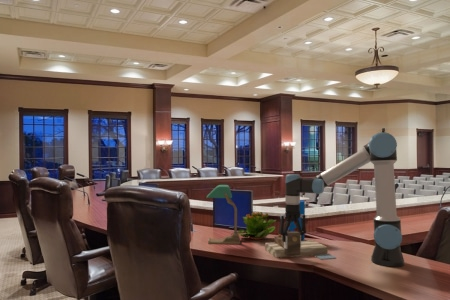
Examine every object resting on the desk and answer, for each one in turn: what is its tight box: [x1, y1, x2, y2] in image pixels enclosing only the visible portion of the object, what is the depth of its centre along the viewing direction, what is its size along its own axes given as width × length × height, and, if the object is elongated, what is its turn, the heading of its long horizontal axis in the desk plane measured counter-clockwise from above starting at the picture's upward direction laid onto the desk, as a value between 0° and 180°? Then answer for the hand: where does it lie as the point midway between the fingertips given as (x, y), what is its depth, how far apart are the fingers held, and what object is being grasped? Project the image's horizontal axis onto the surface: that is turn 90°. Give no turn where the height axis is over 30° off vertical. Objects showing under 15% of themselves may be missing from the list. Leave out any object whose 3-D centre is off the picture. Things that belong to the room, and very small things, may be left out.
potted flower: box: [237, 212, 276, 241], centre depth 232 cm, size 25×24×18 cm
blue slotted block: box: [287, 199, 306, 241], centre depth 227 cm, size 11×11×25 cm
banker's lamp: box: [206, 184, 241, 245], centre depth 219 cm, size 16×21×35 cm
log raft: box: [264, 240, 329, 259], centre depth 197 cm, size 16×30×4 cm, turn 104°
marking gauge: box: [273, 231, 300, 256], centre depth 192 cm, size 21×7×12 cm, turn 15°
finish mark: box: [313, 253, 337, 260], centre depth 188 cm, size 8×9×1 cm
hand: (292, 247), depth 185 cm, fingers closed on marking gauge, 7 cm apart
